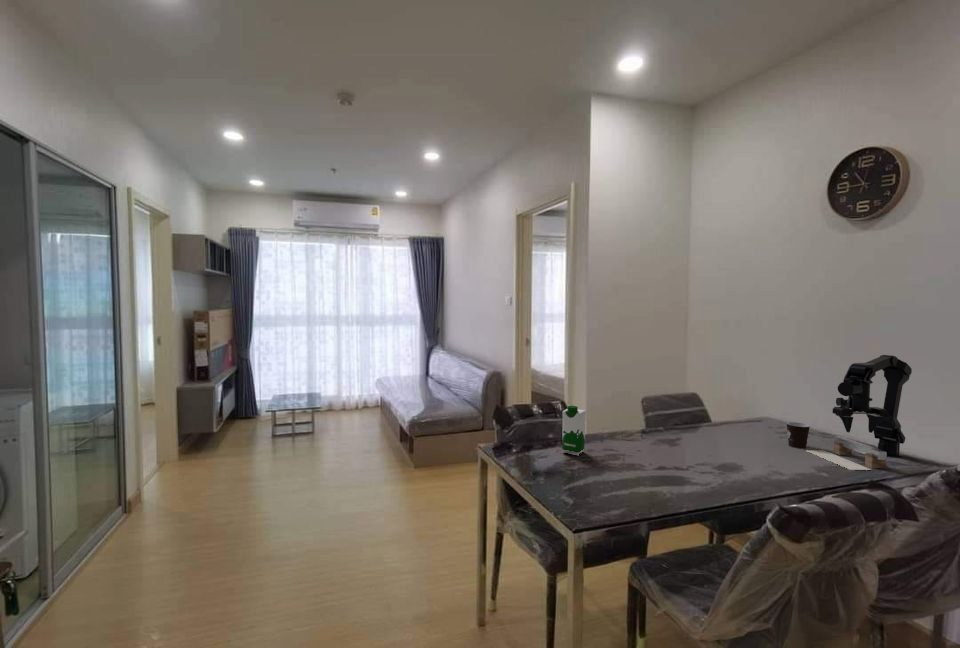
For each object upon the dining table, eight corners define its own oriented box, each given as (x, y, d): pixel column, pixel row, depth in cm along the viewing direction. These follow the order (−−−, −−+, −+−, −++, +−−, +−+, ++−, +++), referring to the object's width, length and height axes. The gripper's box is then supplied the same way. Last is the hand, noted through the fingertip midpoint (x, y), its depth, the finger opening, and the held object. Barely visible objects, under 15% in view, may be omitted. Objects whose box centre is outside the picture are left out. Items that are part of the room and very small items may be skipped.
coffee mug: (808, 450, 200) (809, 427, 200) (785, 446, 206) (785, 424, 205) (809, 444, 210) (810, 422, 209) (786, 441, 215) (787, 419, 215)
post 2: (878, 465, 181) (879, 452, 181) (885, 468, 178) (886, 455, 178) (865, 465, 181) (865, 452, 181) (871, 468, 178) (872, 455, 178)
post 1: (846, 453, 197) (846, 441, 197) (851, 455, 194) (852, 443, 194) (833, 453, 197) (833, 441, 197) (839, 455, 194) (839, 443, 194)
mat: (823, 451, 200) (823, 450, 200) (871, 470, 176) (871, 469, 176) (805, 451, 200) (805, 450, 200) (850, 470, 176) (850, 469, 176)
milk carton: (559, 453, 191) (560, 406, 190) (567, 448, 199) (568, 402, 198) (579, 457, 186) (580, 409, 186) (587, 452, 194) (588, 405, 193)
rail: (840, 442, 199) (841, 436, 199) (886, 459, 177) (886, 452, 177) (833, 442, 199) (834, 436, 199) (878, 459, 177) (878, 451, 177)
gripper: (866, 391, 195) (865, 427, 196) (823, 390, 195) (821, 427, 196) (890, 396, 184) (888, 434, 185) (844, 395, 184) (842, 434, 184)
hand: (859, 432), depth 188 cm, fingers open, 9 cm apart
